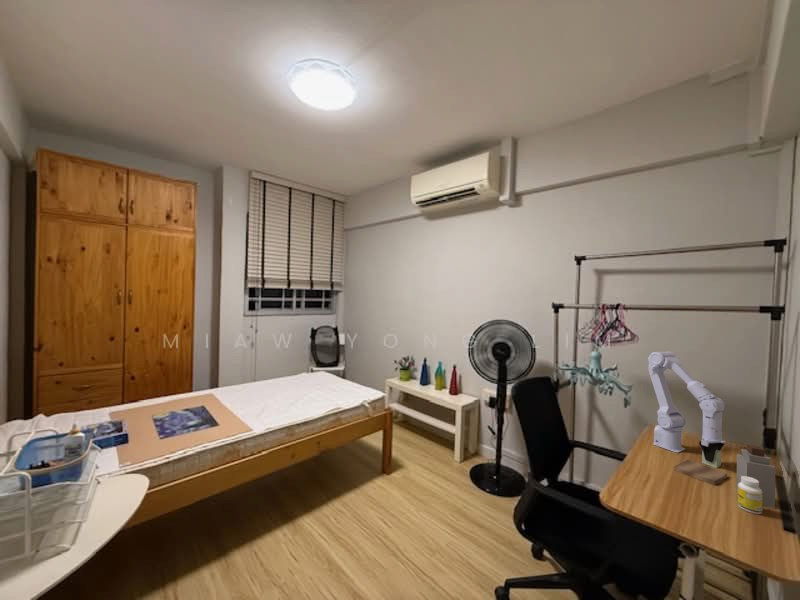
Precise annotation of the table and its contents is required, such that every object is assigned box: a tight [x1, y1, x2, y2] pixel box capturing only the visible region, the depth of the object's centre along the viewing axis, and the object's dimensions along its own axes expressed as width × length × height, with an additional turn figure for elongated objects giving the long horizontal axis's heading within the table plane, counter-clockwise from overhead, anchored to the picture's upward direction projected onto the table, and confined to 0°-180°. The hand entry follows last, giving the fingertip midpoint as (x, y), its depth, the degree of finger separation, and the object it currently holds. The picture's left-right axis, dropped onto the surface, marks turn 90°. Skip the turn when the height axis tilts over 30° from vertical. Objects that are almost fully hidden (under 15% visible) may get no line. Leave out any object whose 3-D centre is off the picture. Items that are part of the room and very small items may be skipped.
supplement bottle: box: [737, 476, 763, 515], centre depth 105 cm, size 5×5×10 cm
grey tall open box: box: [736, 443, 776, 509], centre depth 110 cm, size 7×7×18 cm
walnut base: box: [673, 459, 728, 486], centre depth 126 cm, size 12×12×2 cm
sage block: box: [701, 449, 722, 469], centre depth 134 cm, size 4×4×6 cm
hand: (711, 459), depth 134 cm, fingers closed on sage block, 4 cm apart
